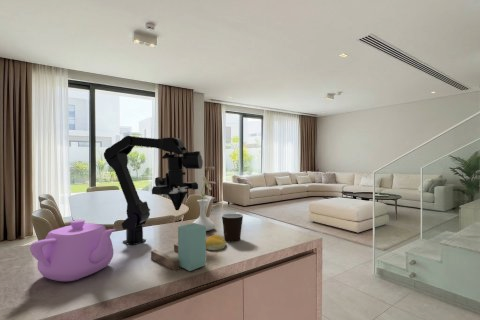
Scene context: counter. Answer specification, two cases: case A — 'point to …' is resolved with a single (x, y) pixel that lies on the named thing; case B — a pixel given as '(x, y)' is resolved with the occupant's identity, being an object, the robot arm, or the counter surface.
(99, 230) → the teapot
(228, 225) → the coffee mug
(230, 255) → the counter surface
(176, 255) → the walnut chute
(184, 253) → the teal block
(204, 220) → the flower in vase
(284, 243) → the counter surface
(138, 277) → the counter surface
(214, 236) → the bread roll
